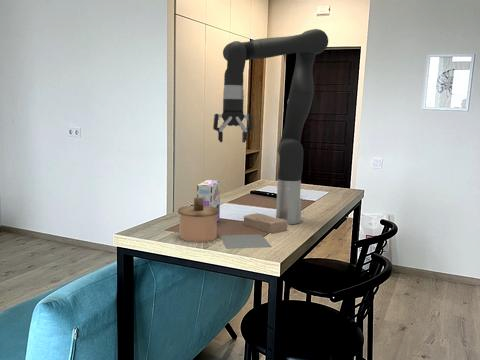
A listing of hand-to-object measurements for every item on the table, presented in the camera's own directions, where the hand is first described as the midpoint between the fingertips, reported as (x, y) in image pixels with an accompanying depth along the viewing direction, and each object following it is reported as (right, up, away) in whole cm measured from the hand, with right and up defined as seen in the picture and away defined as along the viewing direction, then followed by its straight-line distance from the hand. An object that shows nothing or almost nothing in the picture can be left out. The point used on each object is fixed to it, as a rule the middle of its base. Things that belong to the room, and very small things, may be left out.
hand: (232, 142), depth 173 cm
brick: (+12, -33, +3) cm, 35 cm away
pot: (-12, -34, -12) cm, 38 cm away
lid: (-11, -25, -13) cm, 31 cm away
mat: (+4, -35, -16) cm, 39 cm away
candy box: (-9, -31, +7) cm, 34 cm away
